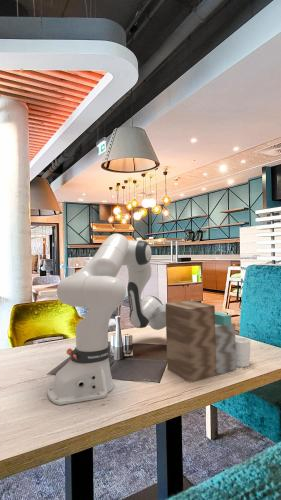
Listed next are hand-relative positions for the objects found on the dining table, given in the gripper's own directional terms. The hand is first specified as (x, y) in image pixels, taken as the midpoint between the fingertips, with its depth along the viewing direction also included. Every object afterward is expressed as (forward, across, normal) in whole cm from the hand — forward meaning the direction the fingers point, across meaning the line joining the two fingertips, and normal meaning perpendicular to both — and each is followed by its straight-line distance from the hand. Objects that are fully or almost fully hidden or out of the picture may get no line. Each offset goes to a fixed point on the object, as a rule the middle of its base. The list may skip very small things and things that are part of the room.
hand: (183, 302), depth 148 cm
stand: (+7, -7, +30) cm, 32 cm away
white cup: (+10, +10, +32) cm, 35 cm away
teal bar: (+12, 0, +12) cm, 17 cm away
